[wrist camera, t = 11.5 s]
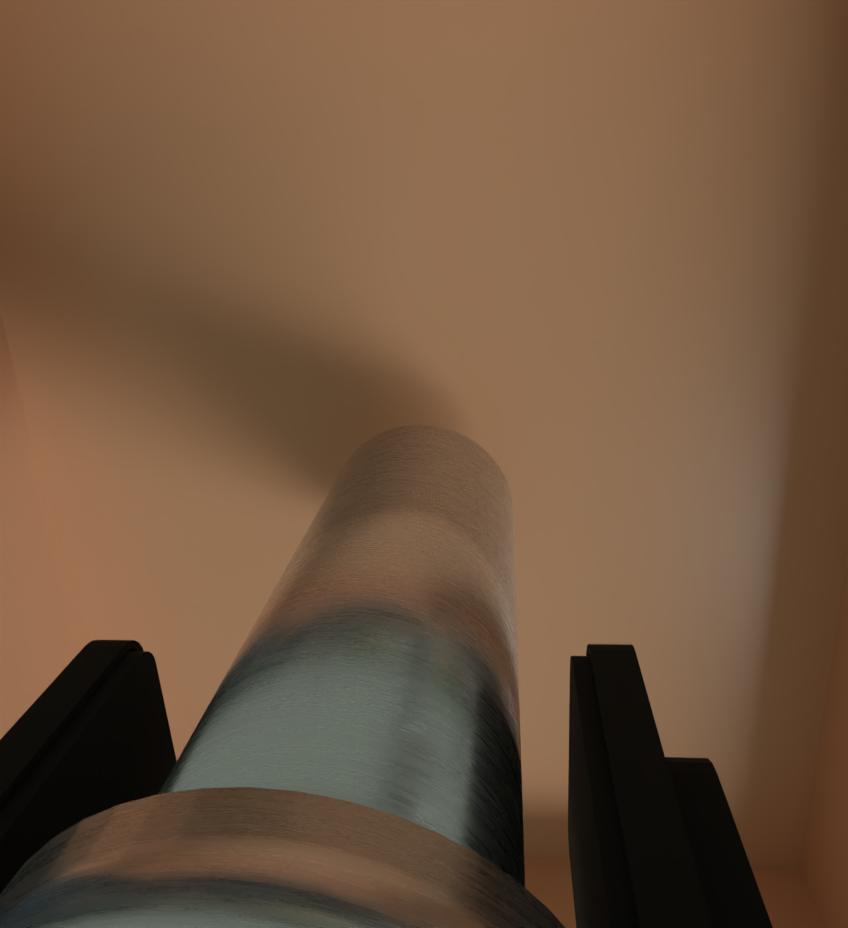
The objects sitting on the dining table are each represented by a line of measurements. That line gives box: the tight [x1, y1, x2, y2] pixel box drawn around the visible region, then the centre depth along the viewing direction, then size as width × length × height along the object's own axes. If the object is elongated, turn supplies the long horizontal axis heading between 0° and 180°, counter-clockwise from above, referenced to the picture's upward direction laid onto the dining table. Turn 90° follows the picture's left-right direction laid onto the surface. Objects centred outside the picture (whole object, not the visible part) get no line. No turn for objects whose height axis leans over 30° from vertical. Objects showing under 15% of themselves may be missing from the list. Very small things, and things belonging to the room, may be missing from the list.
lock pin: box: [0, 425, 565, 928], centre depth 11 cm, size 5×5×12 cm
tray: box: [0, 0, 848, 928], centre depth 17 cm, size 26×22×5 cm
